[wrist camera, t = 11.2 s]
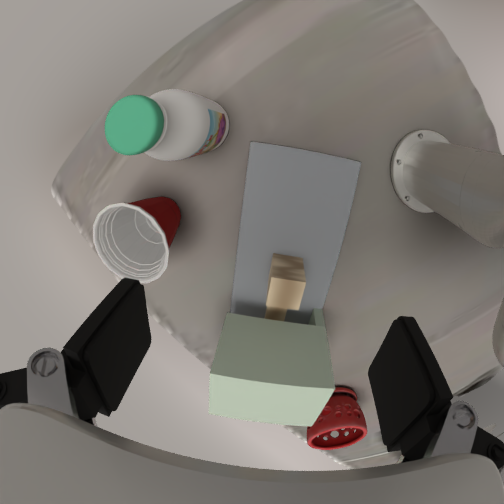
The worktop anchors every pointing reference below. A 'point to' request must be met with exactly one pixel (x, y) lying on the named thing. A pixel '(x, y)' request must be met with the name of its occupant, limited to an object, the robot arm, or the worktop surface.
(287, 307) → the block
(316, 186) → the board
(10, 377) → the robot arm
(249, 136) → the worktop surface
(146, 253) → the plastic cup
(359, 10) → the worktop surface
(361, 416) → the plant pot
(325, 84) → the worktop surface
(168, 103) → the milk bottle
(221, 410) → the shelf block
